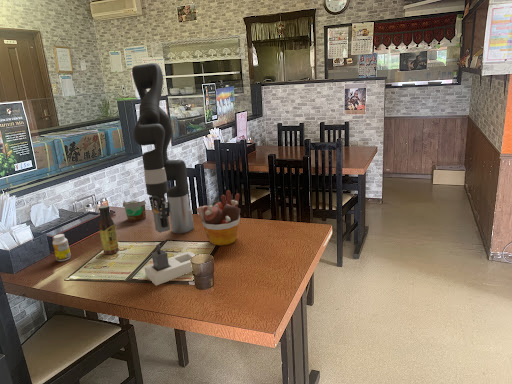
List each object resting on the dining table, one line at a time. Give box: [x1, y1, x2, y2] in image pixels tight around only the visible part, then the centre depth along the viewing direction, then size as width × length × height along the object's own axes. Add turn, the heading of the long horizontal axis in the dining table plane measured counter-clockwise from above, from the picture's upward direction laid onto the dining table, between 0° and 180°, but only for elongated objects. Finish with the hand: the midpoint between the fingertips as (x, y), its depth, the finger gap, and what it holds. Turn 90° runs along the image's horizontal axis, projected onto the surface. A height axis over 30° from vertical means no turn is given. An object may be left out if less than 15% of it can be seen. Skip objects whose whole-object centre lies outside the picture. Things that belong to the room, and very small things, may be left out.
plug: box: [152, 208, 171, 234], centre depth 144 cm, size 4×4×8 cm
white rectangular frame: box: [144, 244, 196, 287], centre depth 140 cm, size 18×9×12 cm, turn 127°
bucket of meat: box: [196, 189, 241, 247], centre depth 165 cm, size 20×16×20 cm
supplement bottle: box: [52, 233, 72, 262], centre depth 159 cm, size 6×6×10 cm
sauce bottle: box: [98, 204, 119, 255], centre depth 162 cm, size 7×6×20 cm
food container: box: [122, 199, 147, 223], centre depth 200 cm, size 12×6×10 cm, turn 81°
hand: (162, 225), depth 145 cm, fingers closed on plug, 4 cm apart
